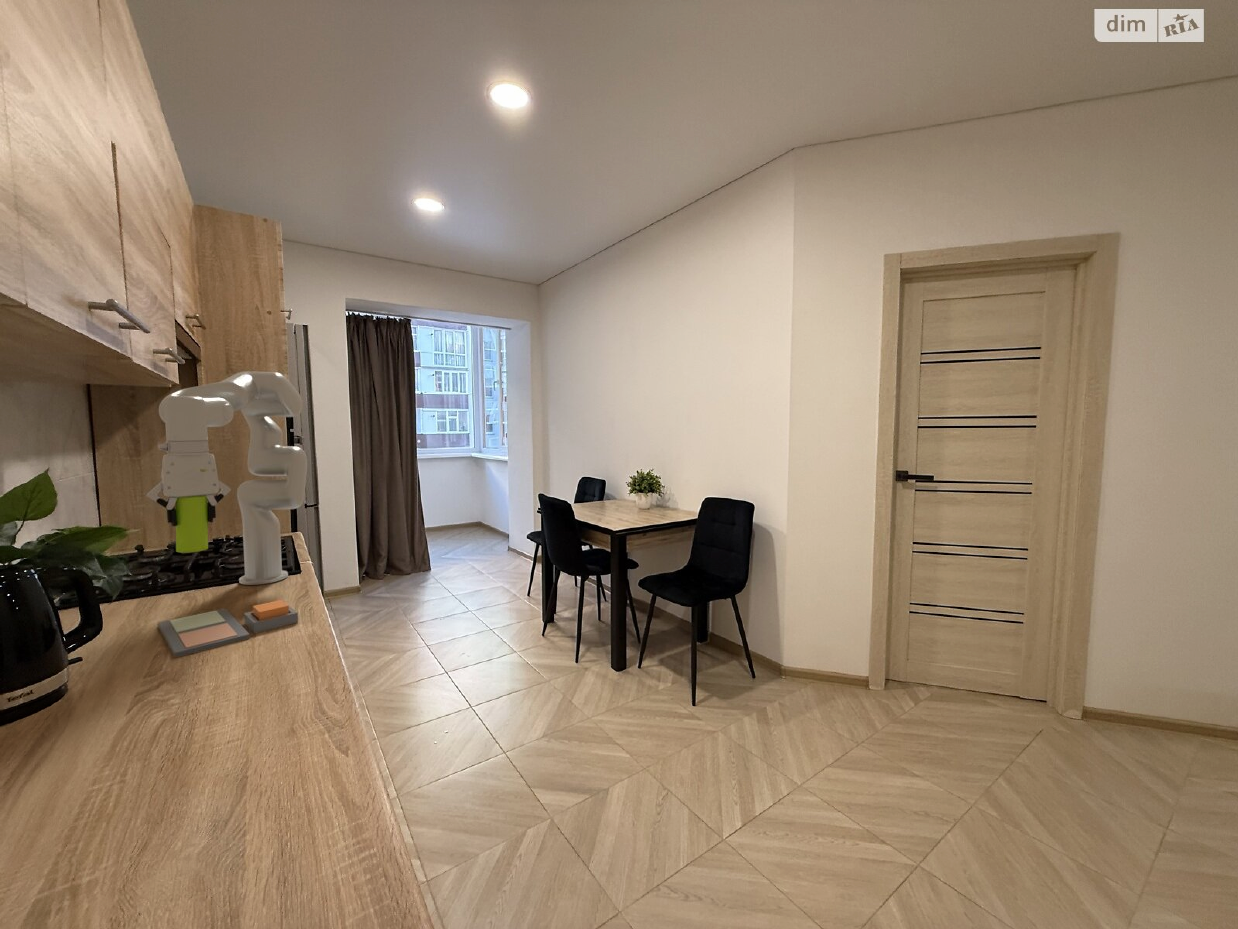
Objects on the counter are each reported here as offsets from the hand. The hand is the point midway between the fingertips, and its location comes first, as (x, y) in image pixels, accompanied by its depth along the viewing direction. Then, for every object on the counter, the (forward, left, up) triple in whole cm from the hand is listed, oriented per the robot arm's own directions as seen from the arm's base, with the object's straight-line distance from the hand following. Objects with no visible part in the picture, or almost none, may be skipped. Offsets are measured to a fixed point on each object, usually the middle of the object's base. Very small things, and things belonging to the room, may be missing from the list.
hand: (192, 522), depth 121 cm
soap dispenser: (0, 0, -7) cm, 7 cm away
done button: (+11, +12, -23) cm, 28 cm away
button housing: (+11, +12, -25) cm, 30 cm away
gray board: (+6, 0, -25) cm, 26 cm away
